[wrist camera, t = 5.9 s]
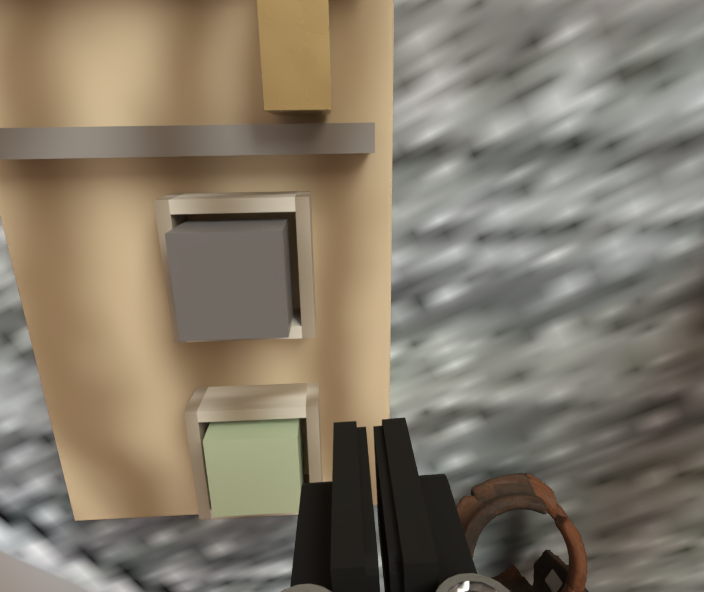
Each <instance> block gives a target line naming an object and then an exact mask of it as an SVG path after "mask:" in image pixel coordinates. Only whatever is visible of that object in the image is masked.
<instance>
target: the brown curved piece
mask: <svg viewBox="0 0 704 592" xmlns="http://www.w3.org/2000/svg"><path fill="white" fill-rule="evenodd" d="M471 495H472V496H464V497H463V498H462V499H461V501H460V502H459V503H458V505H457V507H456V508H457V511H458V515H459V518H460V521H461V524H462V527H463V531H464V534H465V537H466V540H467V543H468V546H469V550H470V553H471V556H472V559H473V553H474V548H475V546H476V542H477V539H478V537H479V535H480V533H481V531H482V530H483V528H484V527H485V526H486V525H487V523H489V522H490V521H491V520H492V519H493V518H495V517H496V516H497V515H500V514H502V513H504V512H507V511H510V510H515V509H527V510H533V511H536V512H539V513H542V514H546V513H548V514H550V516H551V517H552V518H553V519H554V520H555V524H556V526H557V528H558V529H559V530H560V532H561V534H562V536H563V538H564V540H565V543H566V546H567V549H568V555H569V565H566V564H565V563H564V562H563V561H562V560H561V559H560V558H559V557H558V556H556V555H554V554H553V553H552V552H551V551H550V550H545V551H544V552H543V554H542V555H541V557H540V558H539V559H538V560H537V561H536V562H535V563H534V583H533V586H531V585H530V584H529V583H528V581H527V580H526V579H525V577H523V576H522V575H521V573H520V572H519V570H518V569H517V568H516V566H515V565H512V566H510V567H509V568H508V569H507V570H506V571H505V572H503V573H501V574H500V575H498V576H495V577H492V579H494V580H496V581H498V582H500V583H501V584H502V585H503V586H504V587H506V588H507V589H508V590H509V591H510V592H588V591H587V590H586V588H585V583H586V575H587V557H586V552H585V549H584V544H583V542H582V539H581V536H580V534H579V532H578V531H577V529H576V528H575V526H574V525H573V523H572V522H571V520H570V519H569V518H568V516H567V515H566V513H565V511H564V510H563V509H562V507H561V506H560V505H558V504H557V501H556V498H555V495H554V492H553V491H552V489H551V488H550V487H548V486H547V485H546V484H545V483H543V482H542V481H540V480H539V479H537V478H536V477H534V476H533V475H531V474H528V473H526V474H525V475H524V474H521V473H518V474H510V475H505V476H501V477H496V478H493V479H490V480H487V481H485V482H483V483H481V484H479V485H476V486H474V487H473V488H472V489H471Z"/></svg>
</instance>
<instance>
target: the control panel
mask: <svg viewBox="0 0 704 592" xmlns="http://www.w3.org/2000/svg"><path fill="white" fill-rule="evenodd" d="M328 1H329V38H330V75H331V113H330V115H273V114H271V113H269V112H267V111H265V110H264V98H263V83H262V68H261V54H260V39H259V24H258V10H257V0H0V216H1V220H2V224H3V228H4V232H5V236H6V240H7V245H8V249H9V253H10V257H11V261H12V265H13V269H14V273H15V277H16V281H17V285H18V289H19V294H20V298H21V302H22V306H23V310H24V314H25V318H26V322H27V326H28V330H29V334H30V339H31V343H32V347H33V351H34V355H35V359H36V363H37V367H38V371H39V375H40V379H41V383H42V388H43V392H44V396H45V400H46V404H47V408H48V412H49V416H50V420H51V424H52V428H53V433H54V437H55V441H56V445H57V449H58V453H59V457H60V461H61V465H62V469H63V473H64V477H65V482H66V486H67V490H68V494H69V498H70V502H71V506H72V510H73V514H74V518H75V521H77V520H97V519H116V518H135V517H154V516H174V515H193V514H199V520H204V519H223V518H242V517H261V516H280V515H298V513H299V512H297V513H278V514H259V515H240V516H221V517H213V515H212V507H211V500H210V492H209V485H208V477H207V470H206V462H205V455H204V447H203V439H204V437H205V434H206V432H207V429H208V427H209V424H210V422H221V421H244V420H267V419H290V418H301V422H302V440H303V458H304V483H314V482H329V481H332V470H333V425H334V422H348V421H357V427H366V432H367V443H368V454H369V465H370V476H371V488H372V499H373V505H377V490H376V471H375V451H374V432H373V426H382V419H389V416H390V320H391V225H392V129H393V34H394V0H328ZM279 218H288V228H289V246H290V263H291V280H292V298H293V317H292V322H291V328H290V333H289V337H287V338H258V339H230V340H202V341H180V340H179V333H178V326H177V319H176V312H175V304H174V297H173V290H172V283H171V276H170V269H169V261H168V254H167V247H166V240H165V233H167V232H168V231H170V230H172V229H173V228H175V227H177V226H178V225H180V224H182V223H183V222H185V221H195V220H237V219H279Z"/></svg>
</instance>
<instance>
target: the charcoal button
mask: <svg viewBox="0 0 704 592" xmlns="http://www.w3.org/2000/svg"><path fill="white" fill-rule="evenodd" d="M165 240H166V247H167V254H168V261H169V269H170V276H171V283H172V290H173V297H174V304H175V312H176V319H177V326H178V333H179V340H180V341H202V340H230V339H258V338H287V337H289V333H290V328H291V322H292V317H293V298H292V280H291V263H290V246H289V228H288V218H279V219H237V220H195V221H185V222H183V223H182V224H180V225H178V226H177V227H175V228H173V229H172V230H170V231H168V232H167V233H165Z"/></svg>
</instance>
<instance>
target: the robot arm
mask: <svg viewBox="0 0 704 592" xmlns="http://www.w3.org/2000/svg"><path fill="white" fill-rule="evenodd" d="M373 432H374V451H375V471H376V490H377V509H378V526H379V537H380V548H381V558H382V568H383V578H384V588H385V592H510V591H509V590H508V589H507V588H506V587H504V586H503V585H502V584H501V583H500V582H498V581H496V580H494V579H492V578H489V577H487V576H484V575H479V574H477V572H476V569H475V566H474V562H473V559H472V556H471V553H470V550H469V546H468V543H467V540H466V537H465V534H464V531H463V527H462V524H461V521H460V518H459V515H458V511H457V508H456V505H455V502H454V499H453V495H452V492H451V489H450V486H449V483H448V480H447V477H446V475H445V474H436V475H421V476H419V475H418V471H417V467H416V462H415V458H414V454H413V449H412V445H411V441H410V437H409V432H408V428H407V424H406V420H405V418H394V419H382V426H373ZM281 592H380V584H379V568H378V554H377V543H376V532H375V521H374V510H373V499H372V488H371V476H370V465H369V454H368V443H367V432H366V427H357V421H348V422H334V425H333V470H332V481H329V482H314V483H303V484H302V487H301V494H300V504H299V513H298V522H297V531H296V540H295V549H294V558H293V568H292V577H291V586H290V588H287V589H284V590H283V591H281Z"/></svg>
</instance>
